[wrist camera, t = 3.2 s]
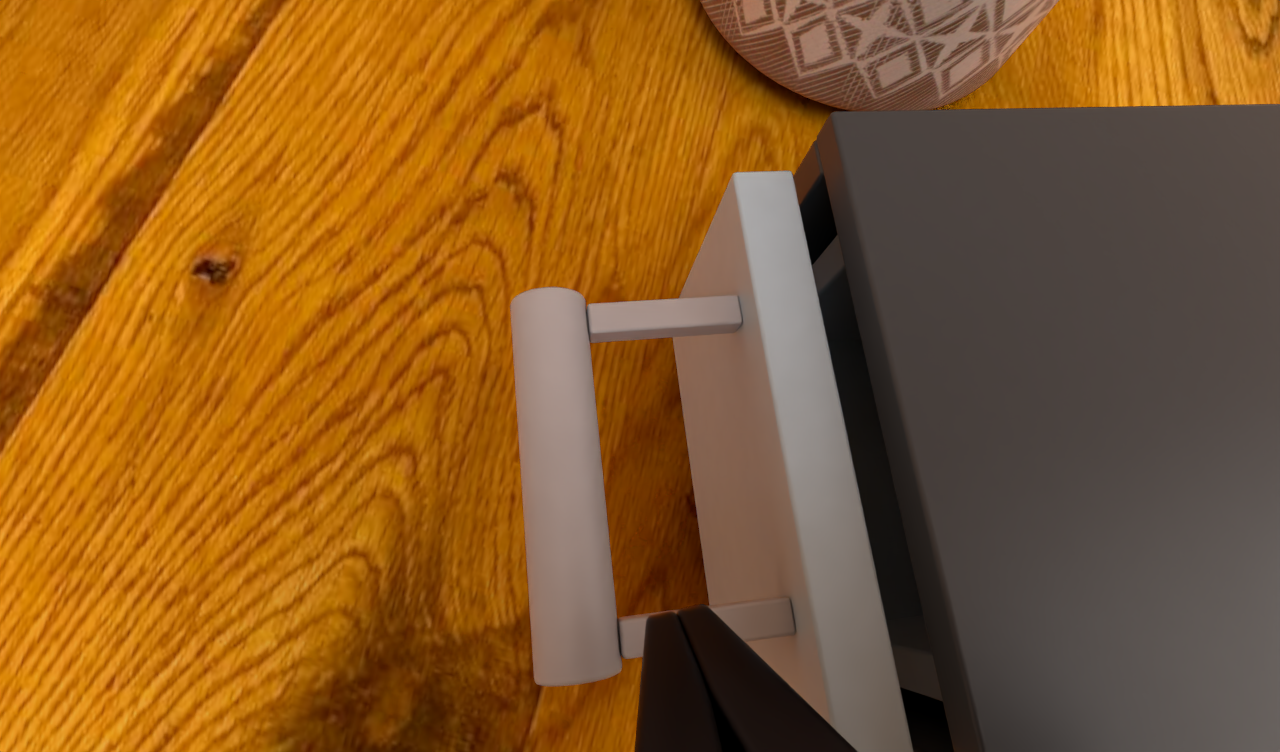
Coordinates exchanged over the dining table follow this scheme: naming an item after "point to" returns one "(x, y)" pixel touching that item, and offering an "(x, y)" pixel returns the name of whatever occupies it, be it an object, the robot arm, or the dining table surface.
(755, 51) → the planter
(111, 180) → the dining table surface
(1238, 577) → the dark grey cabinet
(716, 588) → the drawer
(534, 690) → the dining table surface
